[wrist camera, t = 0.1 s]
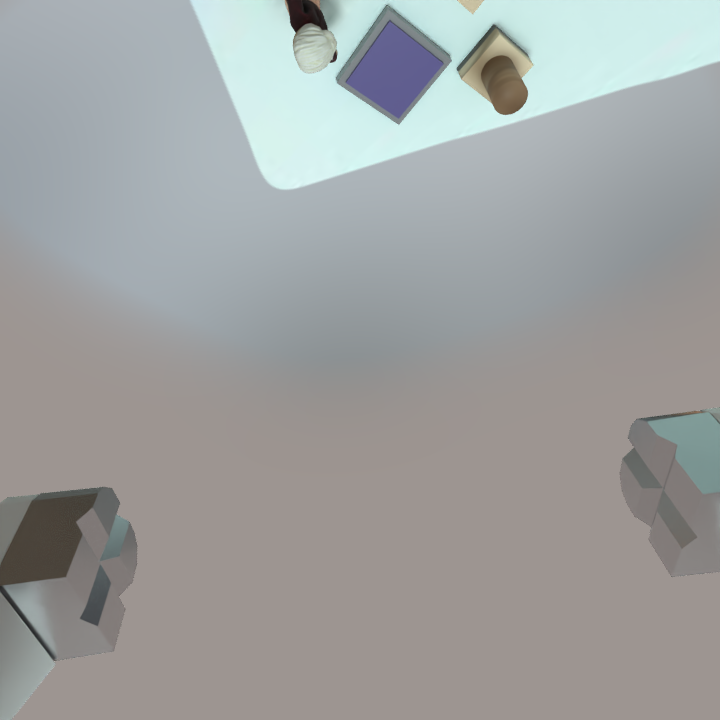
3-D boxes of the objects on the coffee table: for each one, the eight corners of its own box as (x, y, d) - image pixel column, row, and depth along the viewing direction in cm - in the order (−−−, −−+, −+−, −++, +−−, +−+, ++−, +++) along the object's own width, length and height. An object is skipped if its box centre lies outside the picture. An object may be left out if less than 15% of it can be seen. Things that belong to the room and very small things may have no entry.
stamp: (493, 23, 54) (513, 60, 50) (527, 54, 57) (548, 91, 53) (456, 67, 57) (472, 105, 53) (490, 94, 60) (507, 132, 56)
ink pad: (387, 4, 52) (388, 11, 51) (449, 55, 56) (452, 62, 55) (336, 77, 56) (337, 84, 56) (397, 119, 61) (399, 126, 60)
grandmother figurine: (255, -32, 48) (256, 38, 41) (288, -68, 46) (295, -1, 39) (317, 38, 53) (328, 112, 46) (348, 8, 52) (365, 80, 44)
